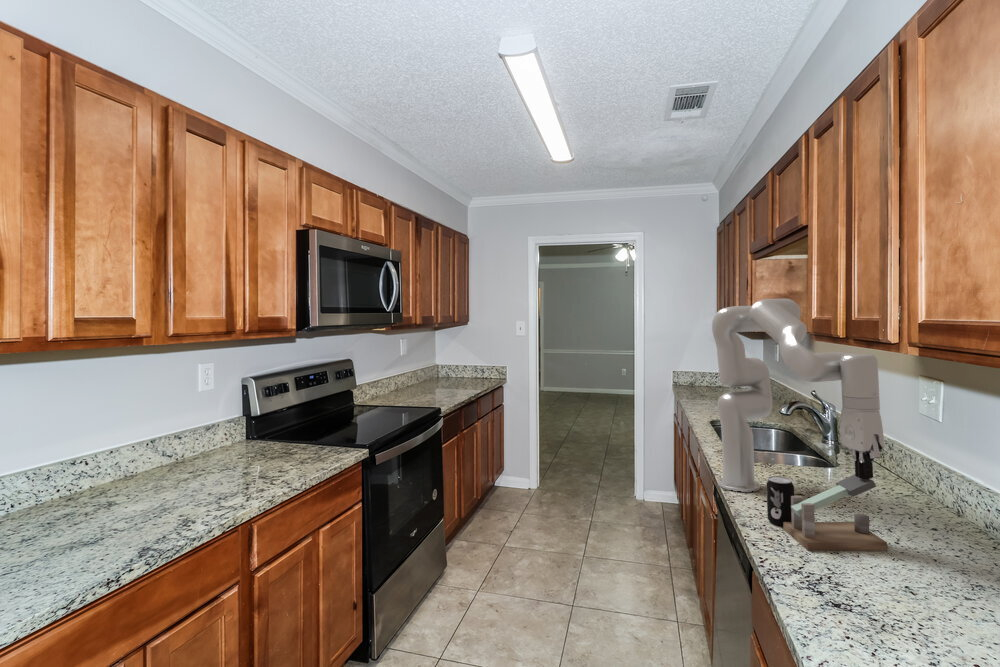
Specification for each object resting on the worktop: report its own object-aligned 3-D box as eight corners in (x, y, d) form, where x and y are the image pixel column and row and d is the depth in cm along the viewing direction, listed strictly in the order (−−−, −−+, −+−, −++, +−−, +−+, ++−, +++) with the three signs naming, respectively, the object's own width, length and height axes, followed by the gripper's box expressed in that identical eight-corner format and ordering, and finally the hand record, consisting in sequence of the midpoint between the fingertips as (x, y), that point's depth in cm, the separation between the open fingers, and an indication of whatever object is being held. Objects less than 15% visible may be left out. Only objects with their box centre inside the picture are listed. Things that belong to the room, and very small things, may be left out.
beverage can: (799, 528, 131) (797, 483, 130) (772, 527, 132) (770, 482, 132) (789, 518, 137) (788, 475, 137) (764, 517, 138) (763, 475, 138)
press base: (783, 529, 130) (782, 492, 130) (855, 529, 128) (854, 491, 128) (807, 550, 118) (806, 509, 118) (887, 550, 116) (886, 509, 116)
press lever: (790, 509, 127) (787, 504, 127) (860, 478, 125) (857, 473, 125) (802, 519, 121) (799, 513, 121) (876, 486, 119) (873, 480, 119)
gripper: (827, 400, 129) (830, 469, 129) (864, 408, 115) (868, 487, 115) (857, 398, 129) (860, 468, 129) (898, 407, 114) (902, 486, 114)
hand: (864, 477), depth 122 cm, fingers closed
